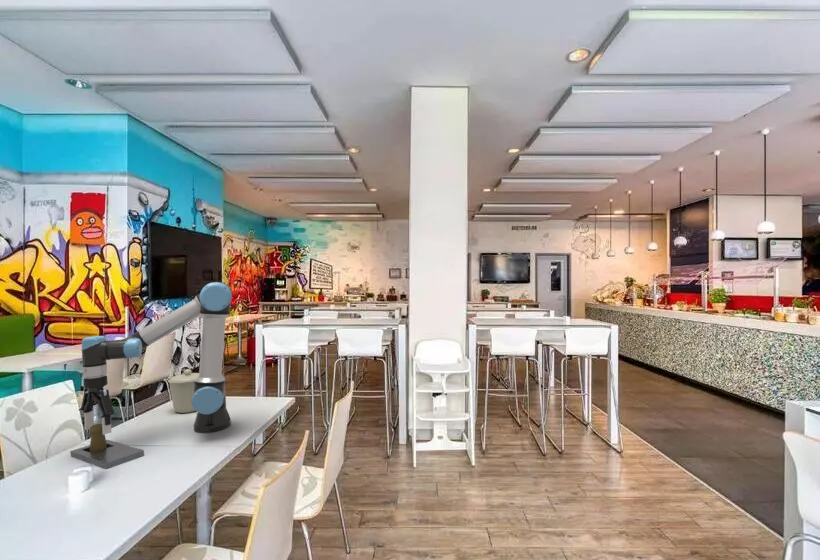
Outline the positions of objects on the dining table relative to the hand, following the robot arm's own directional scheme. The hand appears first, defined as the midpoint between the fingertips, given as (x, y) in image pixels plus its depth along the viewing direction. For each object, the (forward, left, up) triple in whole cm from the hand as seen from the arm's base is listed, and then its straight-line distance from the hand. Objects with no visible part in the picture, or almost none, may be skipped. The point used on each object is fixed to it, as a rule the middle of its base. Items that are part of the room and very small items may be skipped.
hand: (98, 431), depth 169 cm
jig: (-7, 0, -8) cm, 11 cm away
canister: (+21, -51, -9) cm, 56 cm away
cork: (0, 0, -9) cm, 9 cm away
